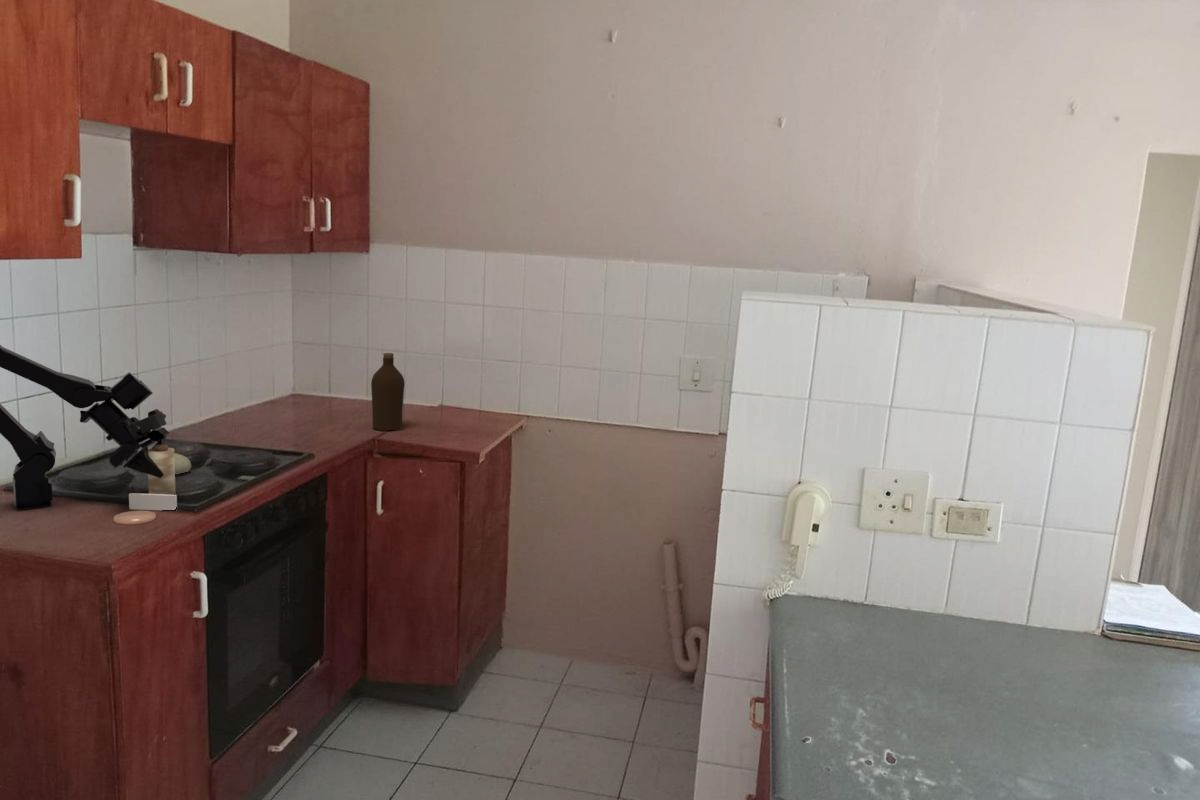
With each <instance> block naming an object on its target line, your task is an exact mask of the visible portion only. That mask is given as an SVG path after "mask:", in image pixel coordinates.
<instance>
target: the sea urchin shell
mask: <svg viewBox="0 0 1200 800" xmlns="http://www.w3.org/2000/svg"><path fill="white" fill-rule="evenodd" d="M174 460H175V474H179V473H184V472H187V473H188V472H190V471H191V469H192V463H191V460H190V459H189V458H188V457H186V456H184V455H182V454H179V453H175V452H174ZM184 474H185V473H184Z"/></svg>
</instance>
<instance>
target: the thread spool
mask: <svg viewBox="0 0 1200 800" xmlns="http://www.w3.org/2000/svg"><path fill="white" fill-rule="evenodd" d="M174 453H175V448H173V447H169V445H168V444H166V443H165V444H159V445H154V446H153V448H152V449H149V450H148V455H149V457H150V458H151V459H152V460H153V462H154V463H155V464H156V465H157V466H158V468H159V469H160V470H161V471H162V473H163V474H164V475H163V476H162V477H161V478H158V477H155V476H153V475H150V474H147V480H148V481H147V482H148V494H168V495H174V494H175V495H176V476H175V460H174Z"/></svg>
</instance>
